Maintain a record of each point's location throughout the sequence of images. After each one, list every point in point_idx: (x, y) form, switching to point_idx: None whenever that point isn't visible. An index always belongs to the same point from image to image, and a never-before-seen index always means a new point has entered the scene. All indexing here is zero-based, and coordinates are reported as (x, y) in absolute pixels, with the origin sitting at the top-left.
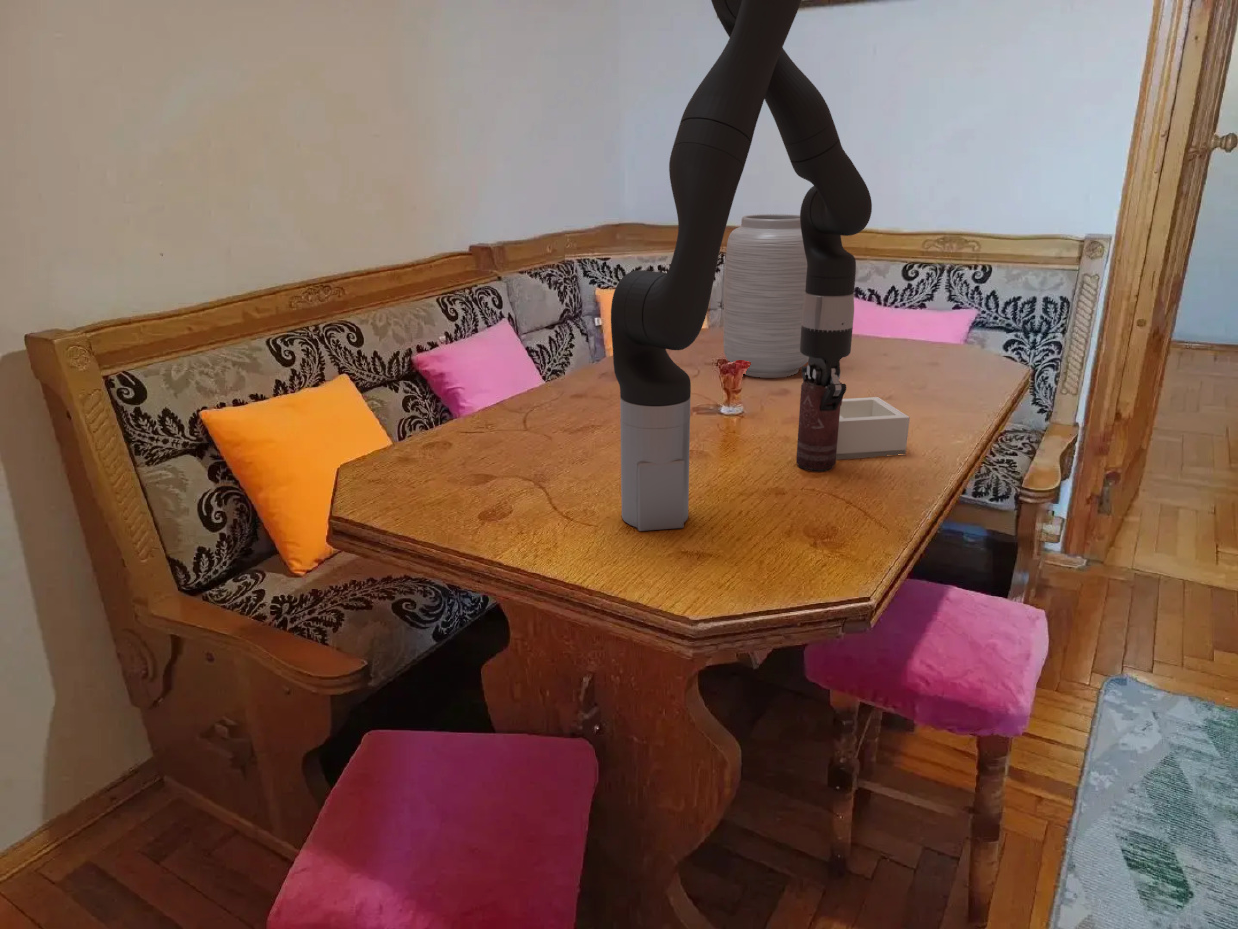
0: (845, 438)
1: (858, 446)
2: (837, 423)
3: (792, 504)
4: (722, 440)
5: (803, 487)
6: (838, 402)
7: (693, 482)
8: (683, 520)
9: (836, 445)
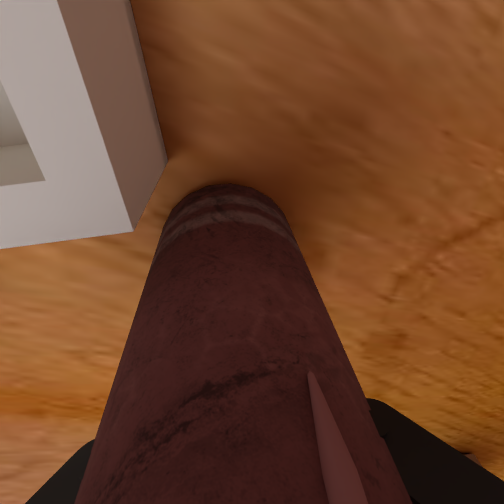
0: (142, 147)
1: (132, 58)
2: (309, 298)
3: (461, 327)
4: (32, 416)
5: (380, 295)
6: (496, 485)
7: None
8: (481, 465)
9: (269, 224)
